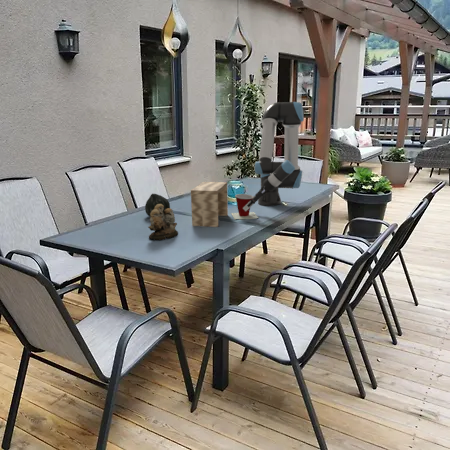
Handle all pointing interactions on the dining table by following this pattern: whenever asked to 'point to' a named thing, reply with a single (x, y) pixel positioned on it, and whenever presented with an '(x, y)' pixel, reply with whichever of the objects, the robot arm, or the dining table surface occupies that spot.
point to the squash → (155, 203)
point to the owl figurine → (162, 223)
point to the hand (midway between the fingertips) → (246, 207)
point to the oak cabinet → (209, 203)
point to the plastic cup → (243, 203)
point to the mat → (251, 216)
